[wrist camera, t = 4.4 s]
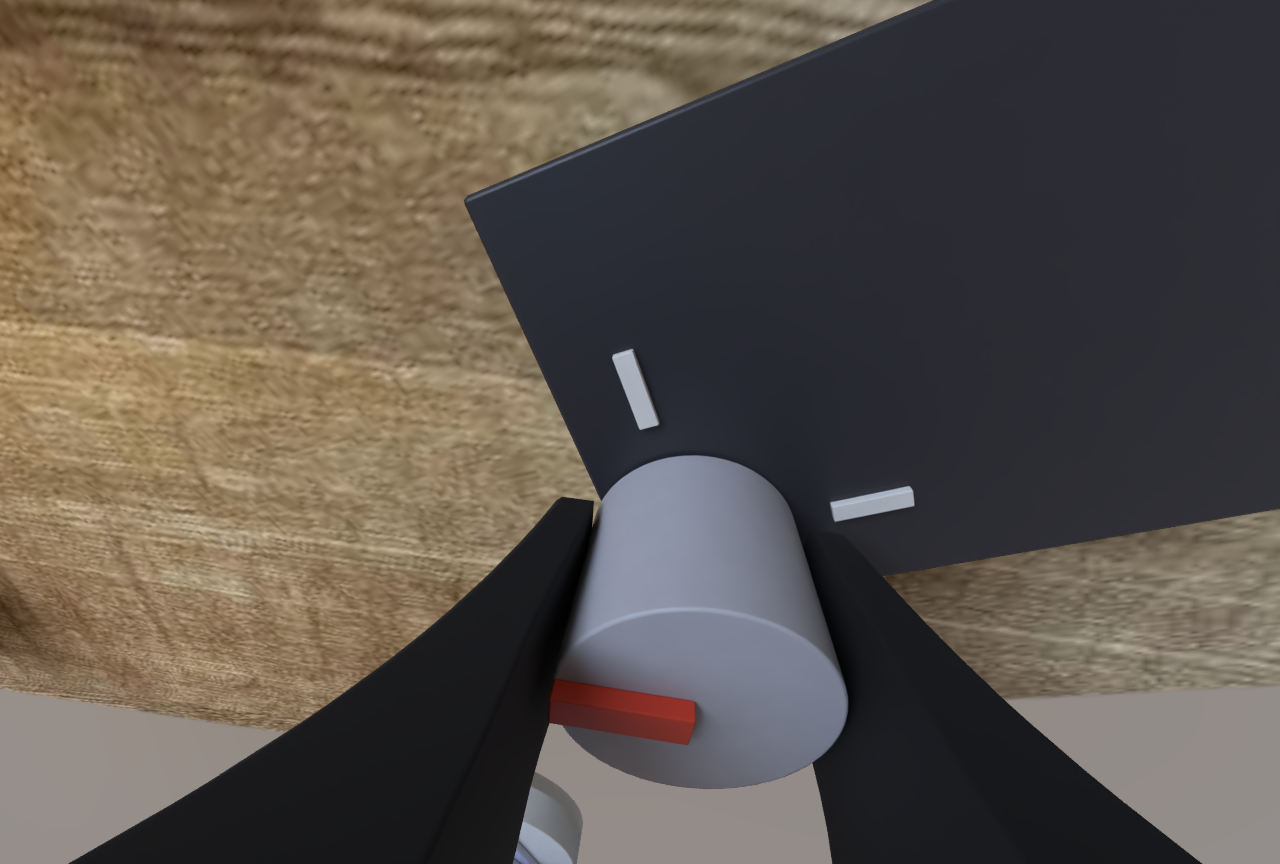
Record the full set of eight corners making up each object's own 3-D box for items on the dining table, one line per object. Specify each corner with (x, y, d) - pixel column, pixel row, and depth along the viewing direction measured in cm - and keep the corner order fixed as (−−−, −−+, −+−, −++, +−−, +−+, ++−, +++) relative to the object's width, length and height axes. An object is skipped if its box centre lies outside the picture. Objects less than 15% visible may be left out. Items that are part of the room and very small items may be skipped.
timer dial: (822, 472, 9) (910, 663, 5) (765, 622, 10) (803, 831, 7) (602, 438, 9) (549, 605, 5) (586, 594, 11) (540, 788, 7)
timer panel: (1205, 486, 11) (1372, 587, 9) (600, 598, 15) (581, 694, 12) (1350, -148, 7) (1827, -380, 4) (413, 235, 10) (311, 259, 7)
